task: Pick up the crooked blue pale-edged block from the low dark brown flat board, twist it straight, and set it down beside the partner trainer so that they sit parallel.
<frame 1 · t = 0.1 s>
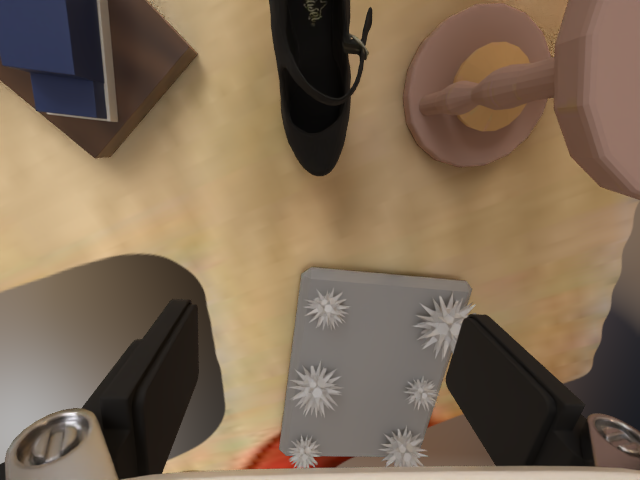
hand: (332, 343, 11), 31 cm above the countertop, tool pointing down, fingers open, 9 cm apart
blue pale-edged block: (80, 49, 31), point 3 cm above the countertop, touching dark brown flat board
hourglass: (470, 93, 38), on the countertop
decorative tray: (367, 365, 50), on the countertop
high-heeled shoe: (311, 87, 36), on the countertop
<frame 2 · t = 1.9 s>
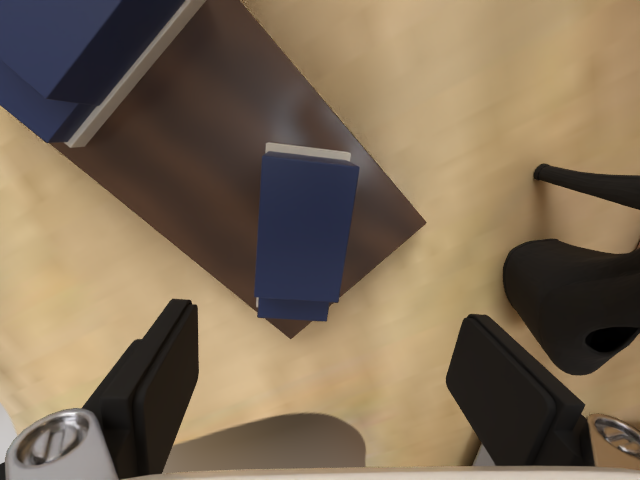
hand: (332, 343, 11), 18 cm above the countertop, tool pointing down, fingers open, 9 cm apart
blue pale-edged block: (299, 230, 25), point 3 cm above the countertop, touching dark brown flat board
dark brown flat board: (231, 153, 25), on the countertop
partner trainer: (102, 38, 20), point 3 cm above the countertop, touching dark brown flat board
high-heeled shoe: (533, 242, 31), on the countertop
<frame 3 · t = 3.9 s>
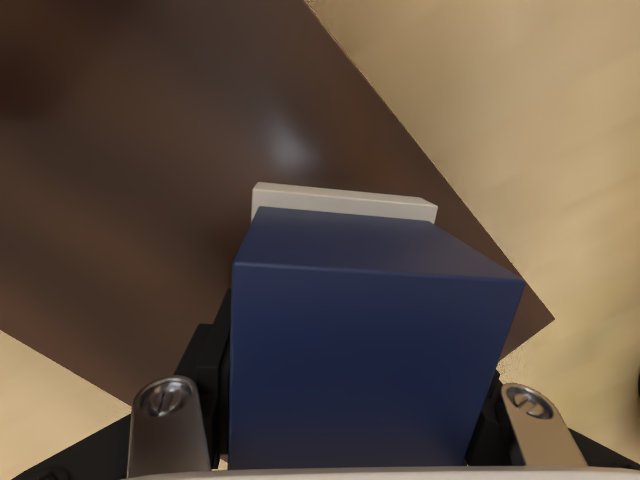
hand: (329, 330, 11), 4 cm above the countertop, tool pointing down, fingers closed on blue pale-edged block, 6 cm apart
blue pale-edged block: (321, 341, 13), point 3 cm above the countertop, touching gripper, dark brown flat board
dark brown flat board: (191, 195, 14), on the countertop
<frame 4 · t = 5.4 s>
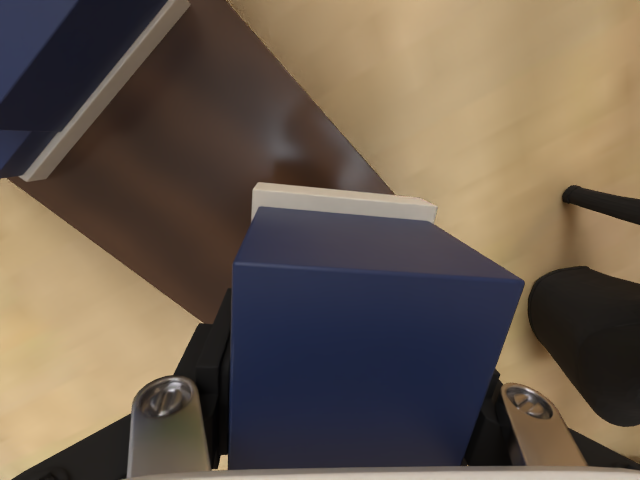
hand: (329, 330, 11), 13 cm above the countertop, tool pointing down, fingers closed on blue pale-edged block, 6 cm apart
blue pale-edged block: (321, 340, 13), point 12 cm above the countertop, touching gripper
dark brown flat board: (223, 180, 22), on the countertop
partner trainer: (65, 51, 16), point 3 cm above the countertop, touching dark brown flat board
high-heeled shoe: (560, 270, 28), on the countertop
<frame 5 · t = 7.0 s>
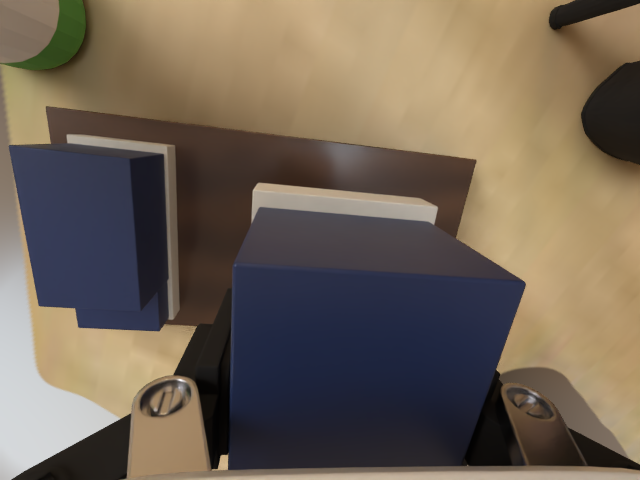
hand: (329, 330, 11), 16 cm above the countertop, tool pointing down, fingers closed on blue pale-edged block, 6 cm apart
wine bottle: (33, 10, 21), on the countertop
blue pale-edged block: (321, 341, 13), point 15 cm above the countertop, touching gripper
dark brown flat board: (273, 231, 27), on the countertop
partner trainer: (135, 231, 23), point 3 cm above the countertop, touching dark brown flat board
high-heeled shoe: (600, 86, 26), on the countertop
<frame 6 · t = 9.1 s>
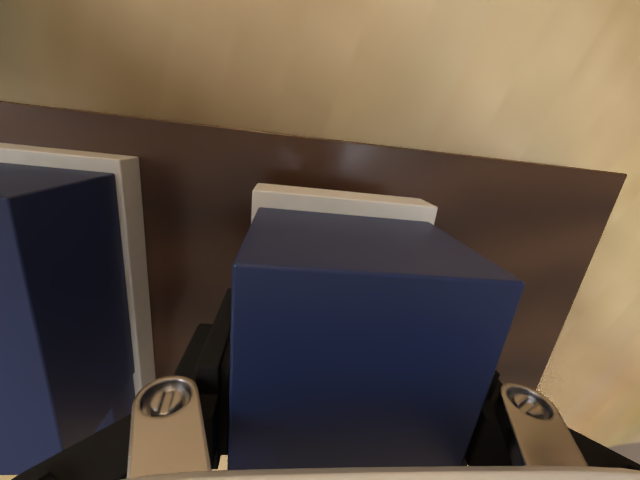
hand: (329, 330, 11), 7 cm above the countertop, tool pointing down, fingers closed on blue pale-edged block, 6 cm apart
blue pale-edged block: (321, 341, 13), point 6 cm above the countertop, touching gripper
dark brown flat board: (296, 278, 18), on the countertop
partner trainer: (81, 294, 14), point 3 cm above the countertop, touching dark brown flat board
when the fingers open (4 cm above the countertop, at t = 10.3 s): blue pale-edged block stays where it is, resting on dark brown flat board.
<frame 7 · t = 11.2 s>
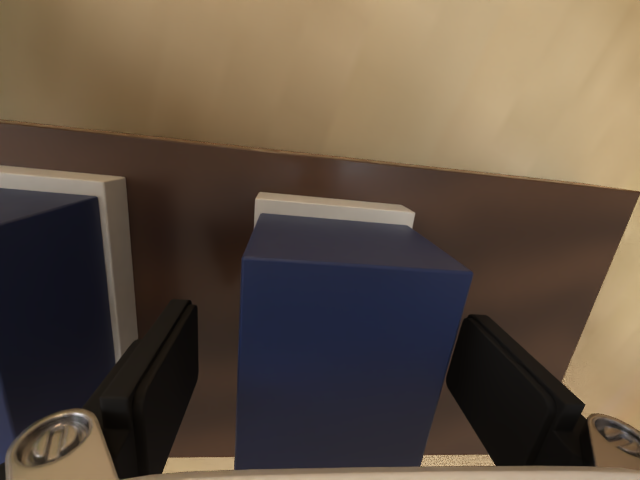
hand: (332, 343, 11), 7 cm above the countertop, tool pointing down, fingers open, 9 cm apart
blue pale-edged block: (316, 333, 15), point 3 cm above the countertop, touching dark brown flat board
dark brown flat board: (294, 299, 17), on the countertop
partner trainer: (64, 321, 13), point 3 cm above the countertop, touching dark brown flat board
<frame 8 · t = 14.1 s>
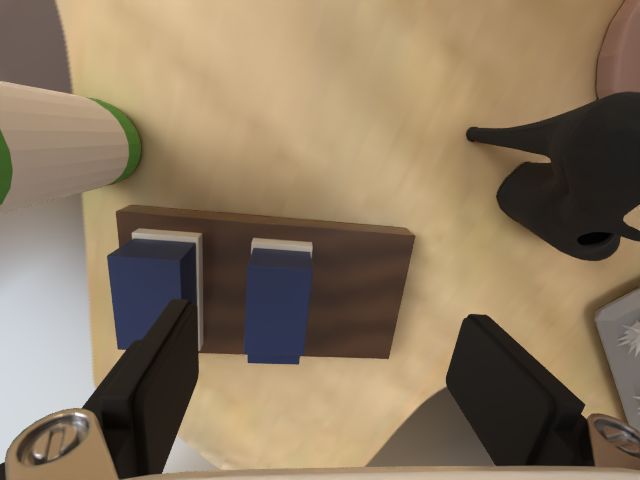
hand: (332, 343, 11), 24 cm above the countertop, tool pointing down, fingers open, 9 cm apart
wine bottle: (105, 142, 30), on the countertop
blue pale-edged block: (278, 295, 34), point 3 cm above the countertop, touching dark brown flat board
dark brown flat board: (271, 282, 36), on the countertop
partner trainer: (173, 289, 32), point 3 cm above the countertop, touching dark brown flat board
high-heeled shoe: (509, 176, 35), on the countertop
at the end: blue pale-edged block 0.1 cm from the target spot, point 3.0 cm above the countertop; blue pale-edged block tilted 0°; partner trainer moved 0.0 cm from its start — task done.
